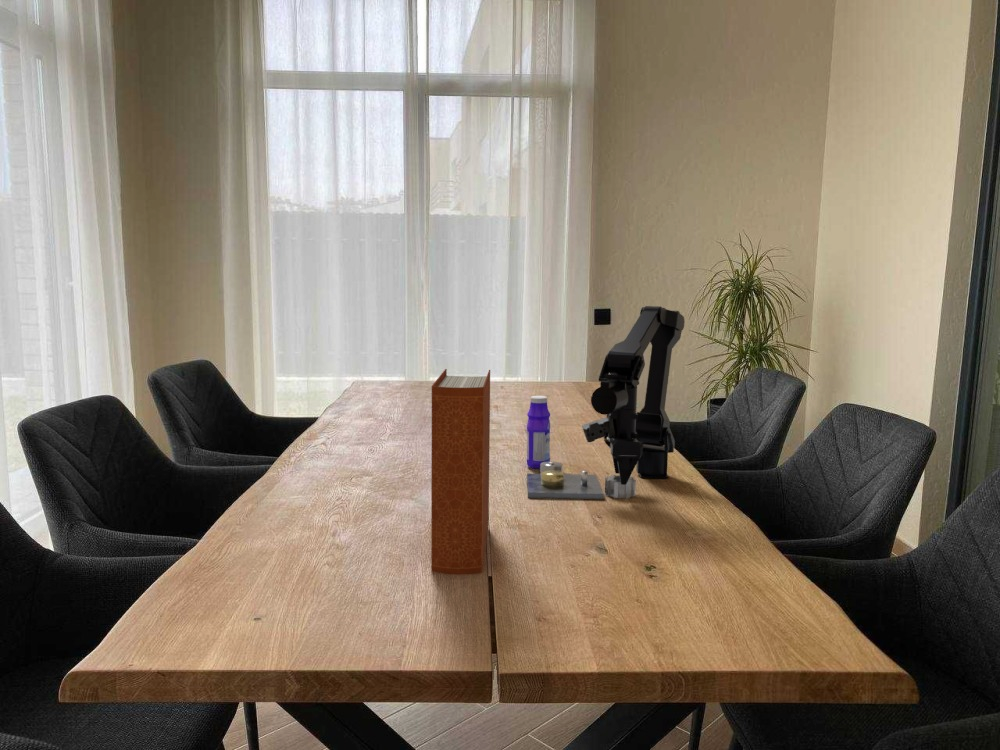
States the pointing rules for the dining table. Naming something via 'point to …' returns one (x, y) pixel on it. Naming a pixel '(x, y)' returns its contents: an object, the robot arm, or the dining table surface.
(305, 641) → the dining table surface
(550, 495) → the plate
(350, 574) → the dining table surface
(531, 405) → the bottle
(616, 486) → the planet gear
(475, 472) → the book
